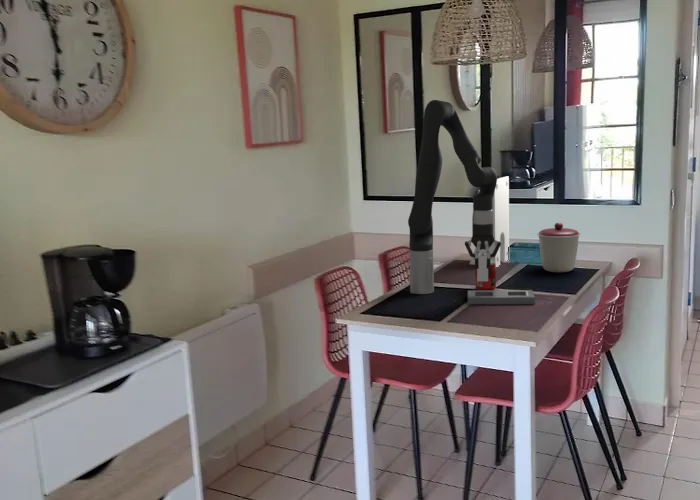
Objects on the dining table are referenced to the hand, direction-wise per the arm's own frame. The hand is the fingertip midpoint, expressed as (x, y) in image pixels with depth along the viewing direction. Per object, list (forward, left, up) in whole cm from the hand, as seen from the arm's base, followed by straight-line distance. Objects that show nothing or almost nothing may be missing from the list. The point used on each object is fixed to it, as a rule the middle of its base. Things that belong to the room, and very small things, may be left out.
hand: (482, 267), depth 256 cm
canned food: (+1, +19, -13) cm, 23 cm away
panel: (+6, 0, -13) cm, 14 cm away
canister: (+33, +52, -13) cm, 63 cm away
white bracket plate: (+3, +70, -13) cm, 72 cm away
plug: (0, +1, -5) cm, 5 cm away
